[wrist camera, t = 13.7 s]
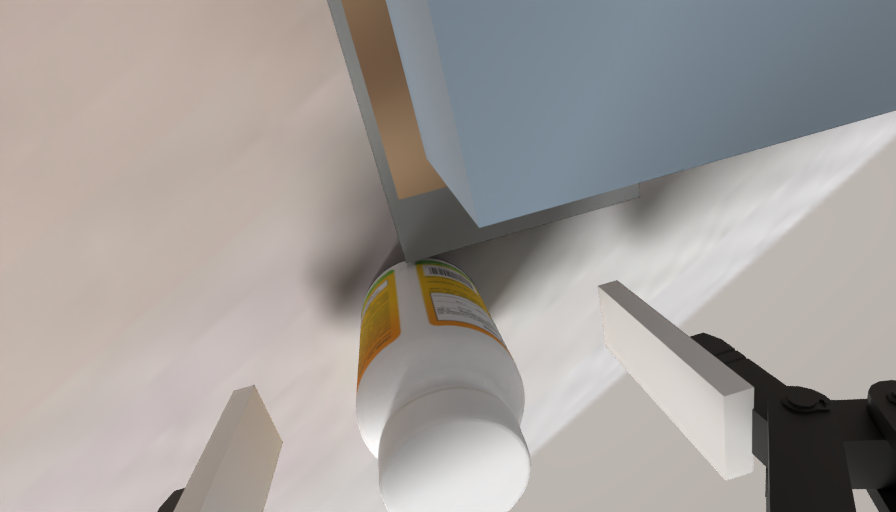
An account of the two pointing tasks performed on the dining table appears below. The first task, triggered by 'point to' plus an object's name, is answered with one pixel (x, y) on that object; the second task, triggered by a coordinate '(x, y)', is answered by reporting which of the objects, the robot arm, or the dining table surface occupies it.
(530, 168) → the blue cube
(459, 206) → the board
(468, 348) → the supplement bottle
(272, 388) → the dining table surface
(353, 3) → the base brick
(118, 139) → the dining table surface
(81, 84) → the dining table surface
